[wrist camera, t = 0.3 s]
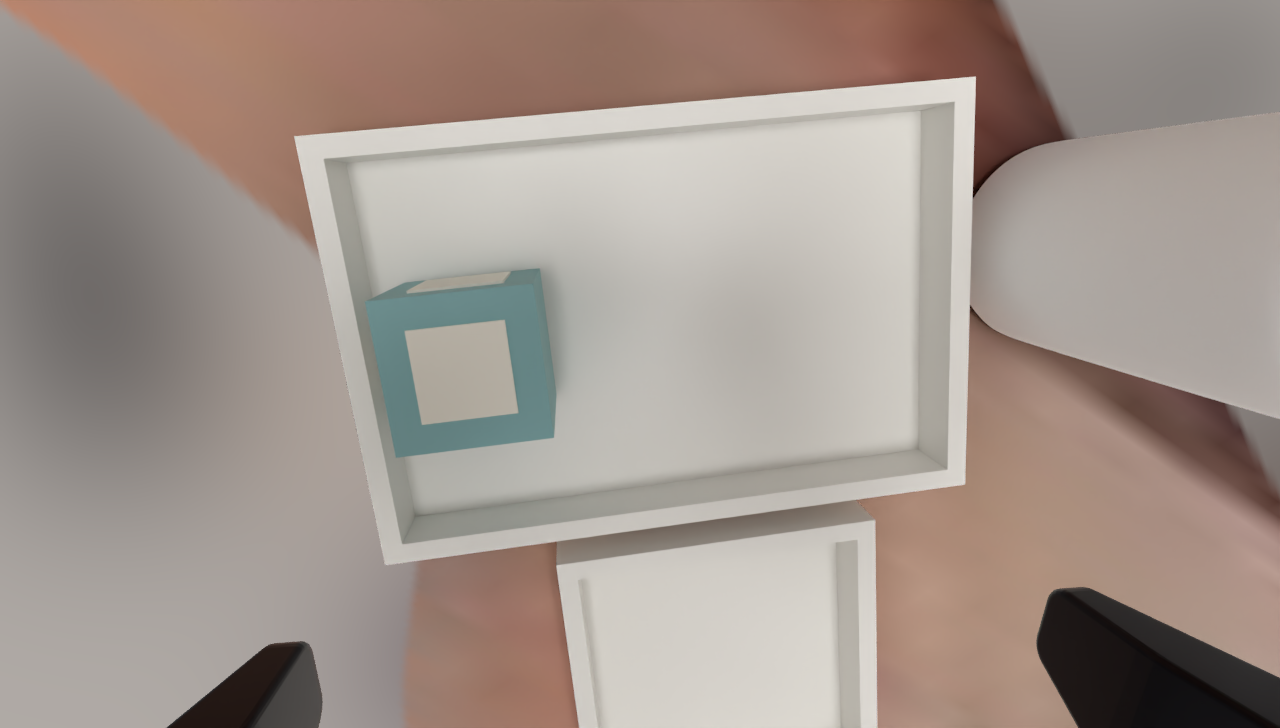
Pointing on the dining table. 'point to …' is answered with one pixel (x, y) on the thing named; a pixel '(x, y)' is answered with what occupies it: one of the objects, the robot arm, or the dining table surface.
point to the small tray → (725, 622)
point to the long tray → (673, 304)
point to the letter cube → (464, 362)
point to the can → (1143, 255)
